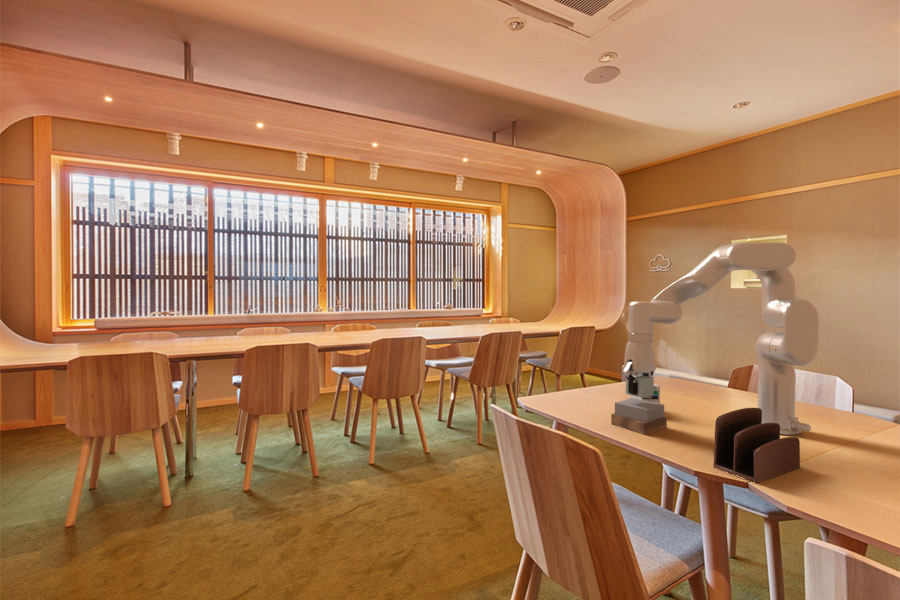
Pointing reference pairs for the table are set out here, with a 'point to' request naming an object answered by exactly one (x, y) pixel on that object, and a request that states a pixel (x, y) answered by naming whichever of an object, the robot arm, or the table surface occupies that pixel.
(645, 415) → the grey slab
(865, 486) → the table surface
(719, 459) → the letter holder
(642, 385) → the blue-grey block
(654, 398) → the light bulb box
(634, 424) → the walnut slab
